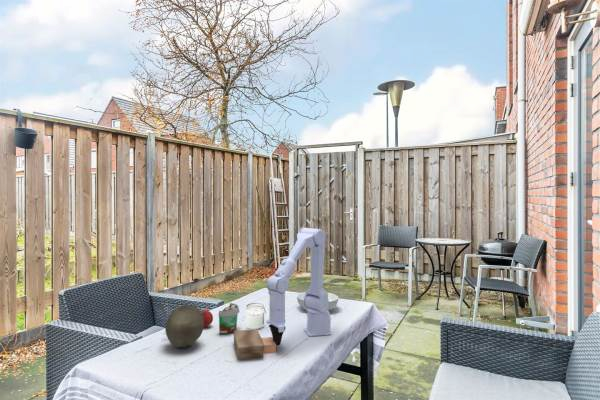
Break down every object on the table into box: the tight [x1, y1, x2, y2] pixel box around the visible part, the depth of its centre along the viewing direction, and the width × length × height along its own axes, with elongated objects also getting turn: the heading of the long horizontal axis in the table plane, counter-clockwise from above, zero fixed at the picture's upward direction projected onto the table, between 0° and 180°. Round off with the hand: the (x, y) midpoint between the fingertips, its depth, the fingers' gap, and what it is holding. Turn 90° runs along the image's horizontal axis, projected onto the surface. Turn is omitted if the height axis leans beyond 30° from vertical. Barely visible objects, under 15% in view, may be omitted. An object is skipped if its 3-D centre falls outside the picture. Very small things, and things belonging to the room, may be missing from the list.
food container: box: [218, 302, 240, 336], centre depth 150 cm, size 12×6×10 cm, turn 168°
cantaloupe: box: [164, 304, 205, 348], centre depth 134 cm, size 14×14×15 cm
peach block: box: [261, 336, 277, 355], centre depth 132 cm, size 10×7×3 cm
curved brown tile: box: [233, 328, 265, 360], centre depth 131 cm, size 9×16×5 cm, turn 16°
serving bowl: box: [296, 291, 339, 312], centre depth 183 cm, size 21×21×7 cm
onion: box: [201, 308, 214, 328], centre depth 154 cm, size 6×6×8 cm
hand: (276, 344), depth 134 cm, fingers closed, pressing on peach block
